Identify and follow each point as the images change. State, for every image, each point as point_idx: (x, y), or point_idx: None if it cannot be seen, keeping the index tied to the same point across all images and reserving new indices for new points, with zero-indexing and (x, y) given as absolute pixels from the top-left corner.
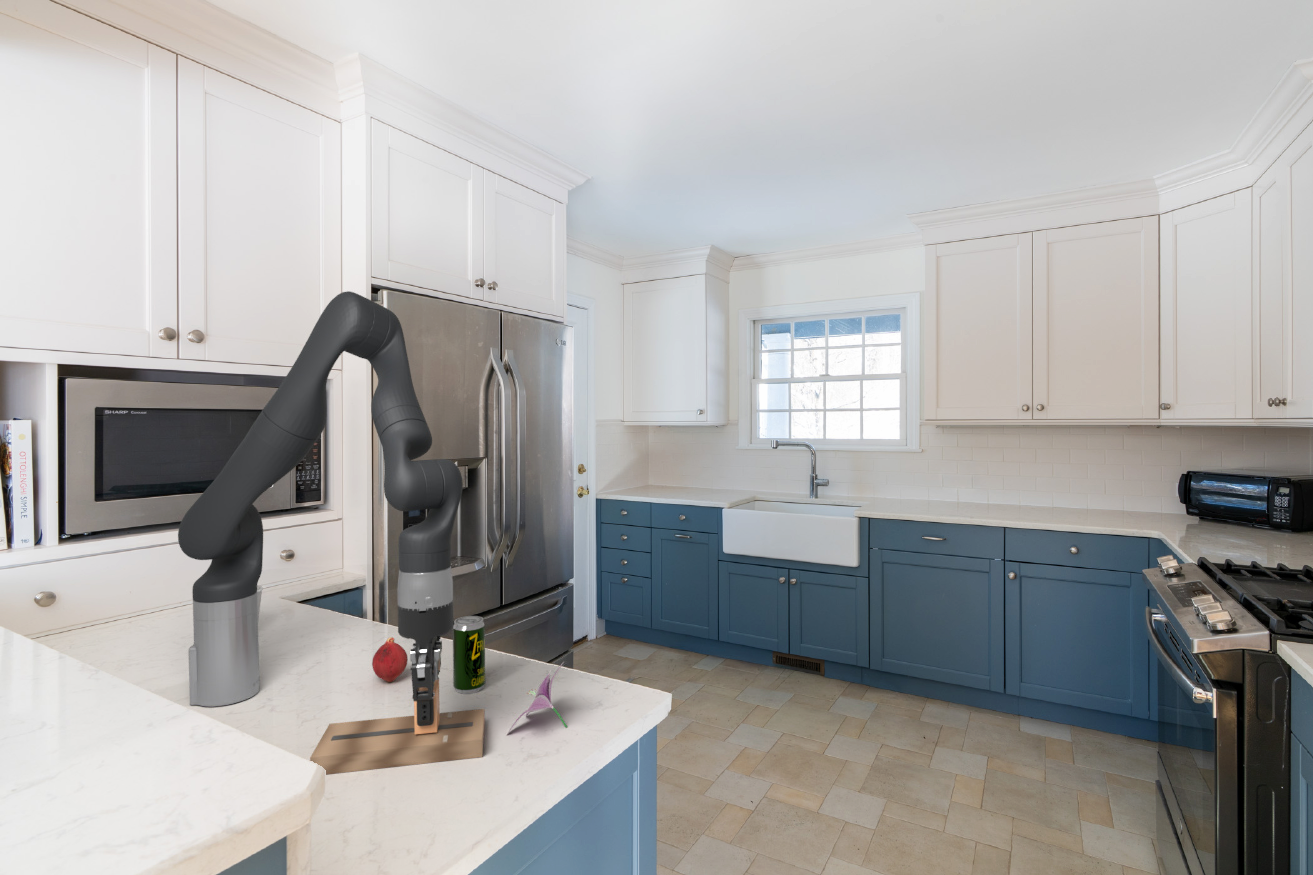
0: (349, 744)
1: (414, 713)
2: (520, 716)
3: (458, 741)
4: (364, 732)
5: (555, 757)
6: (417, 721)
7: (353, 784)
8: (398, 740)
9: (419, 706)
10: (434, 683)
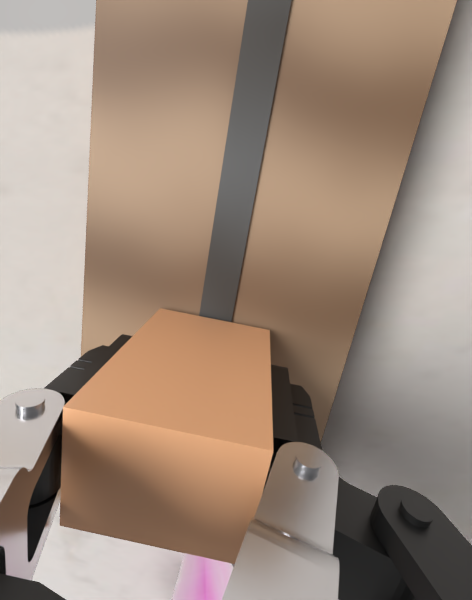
0: (184, 35)
1: (128, 342)
2: (188, 593)
3: None
4: (281, 103)
5: (54, 567)
6: (118, 339)
7: (40, 91)
8: (148, 247)
9: (45, 388)
10: (179, 533)
